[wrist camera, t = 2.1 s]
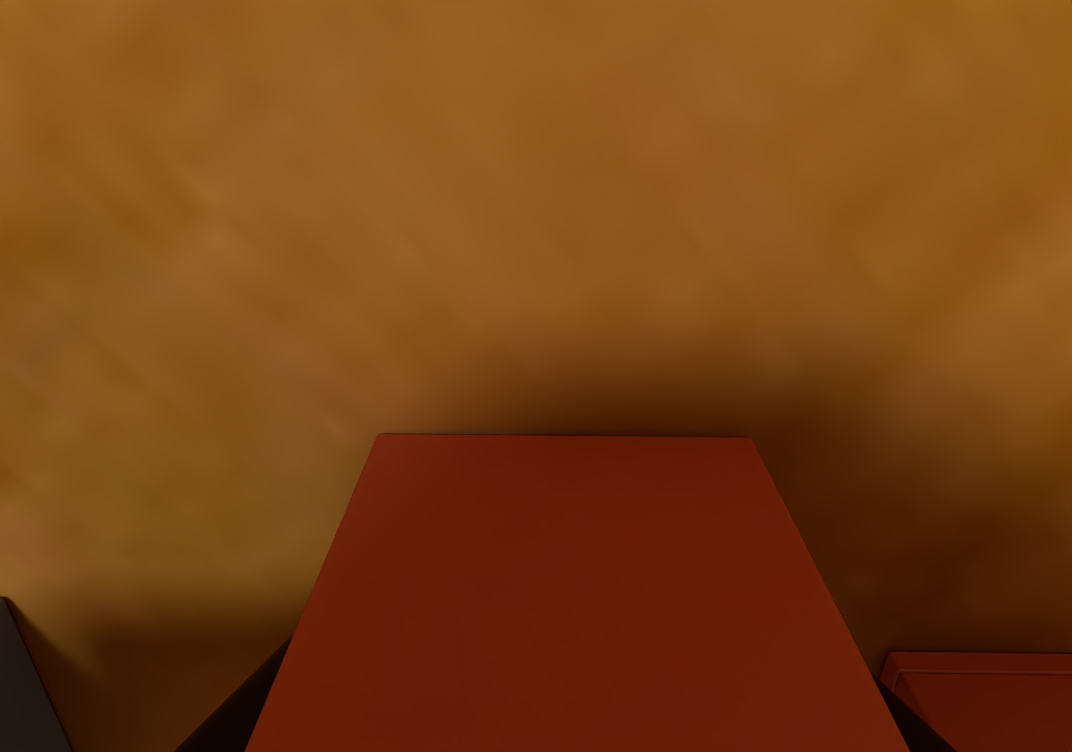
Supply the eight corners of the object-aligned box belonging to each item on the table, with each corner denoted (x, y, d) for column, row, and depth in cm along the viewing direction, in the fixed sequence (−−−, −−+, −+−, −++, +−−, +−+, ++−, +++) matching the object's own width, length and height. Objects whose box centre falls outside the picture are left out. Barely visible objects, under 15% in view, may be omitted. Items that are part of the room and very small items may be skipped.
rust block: (710, 696, 11) (815, 1125, 7) (406, 692, 11) (316, 1114, 7) (752, 434, 9) (949, 815, 5) (376, 431, 9) (217, 802, 5)
